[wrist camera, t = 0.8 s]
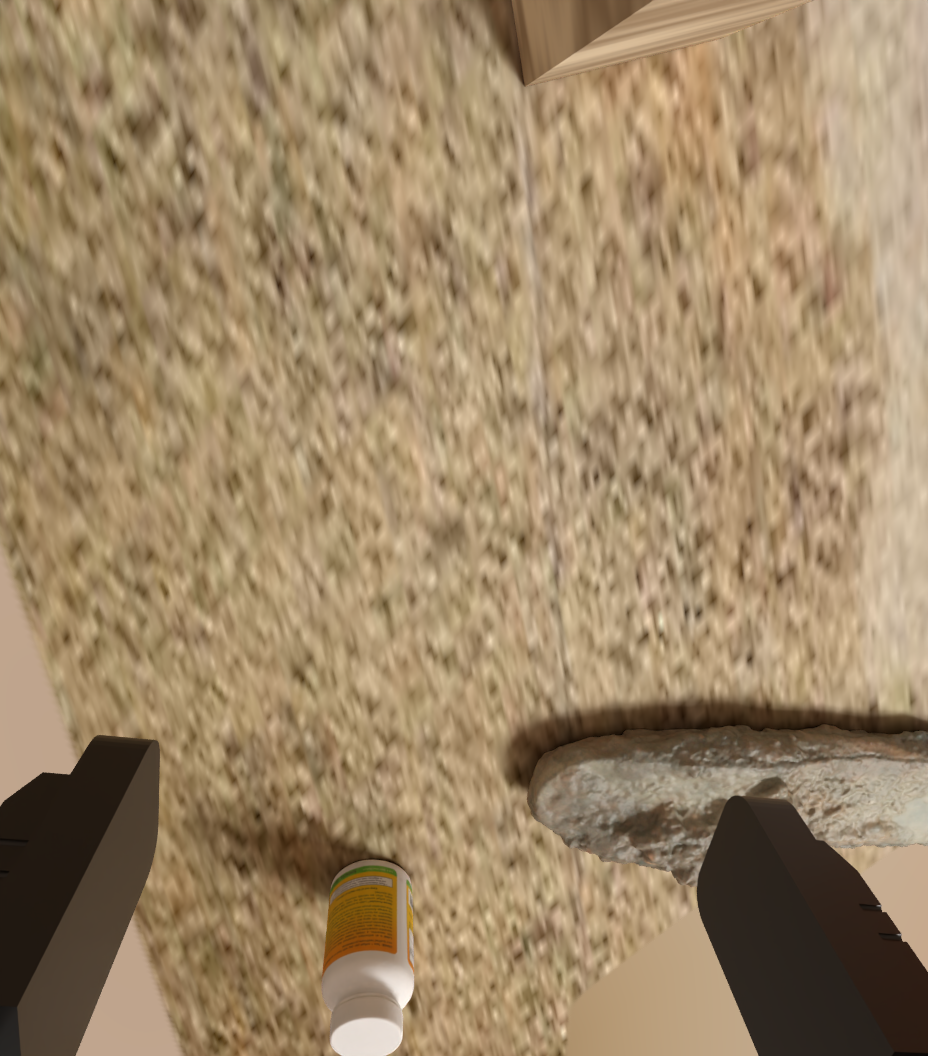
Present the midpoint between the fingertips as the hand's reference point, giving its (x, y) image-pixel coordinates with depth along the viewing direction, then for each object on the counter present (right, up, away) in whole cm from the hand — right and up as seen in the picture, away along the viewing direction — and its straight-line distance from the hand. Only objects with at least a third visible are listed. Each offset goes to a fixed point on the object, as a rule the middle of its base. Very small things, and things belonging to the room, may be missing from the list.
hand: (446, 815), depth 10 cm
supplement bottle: (-6, -20, +39) cm, 44 cm away
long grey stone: (+21, -12, +38) cm, 45 cm away
